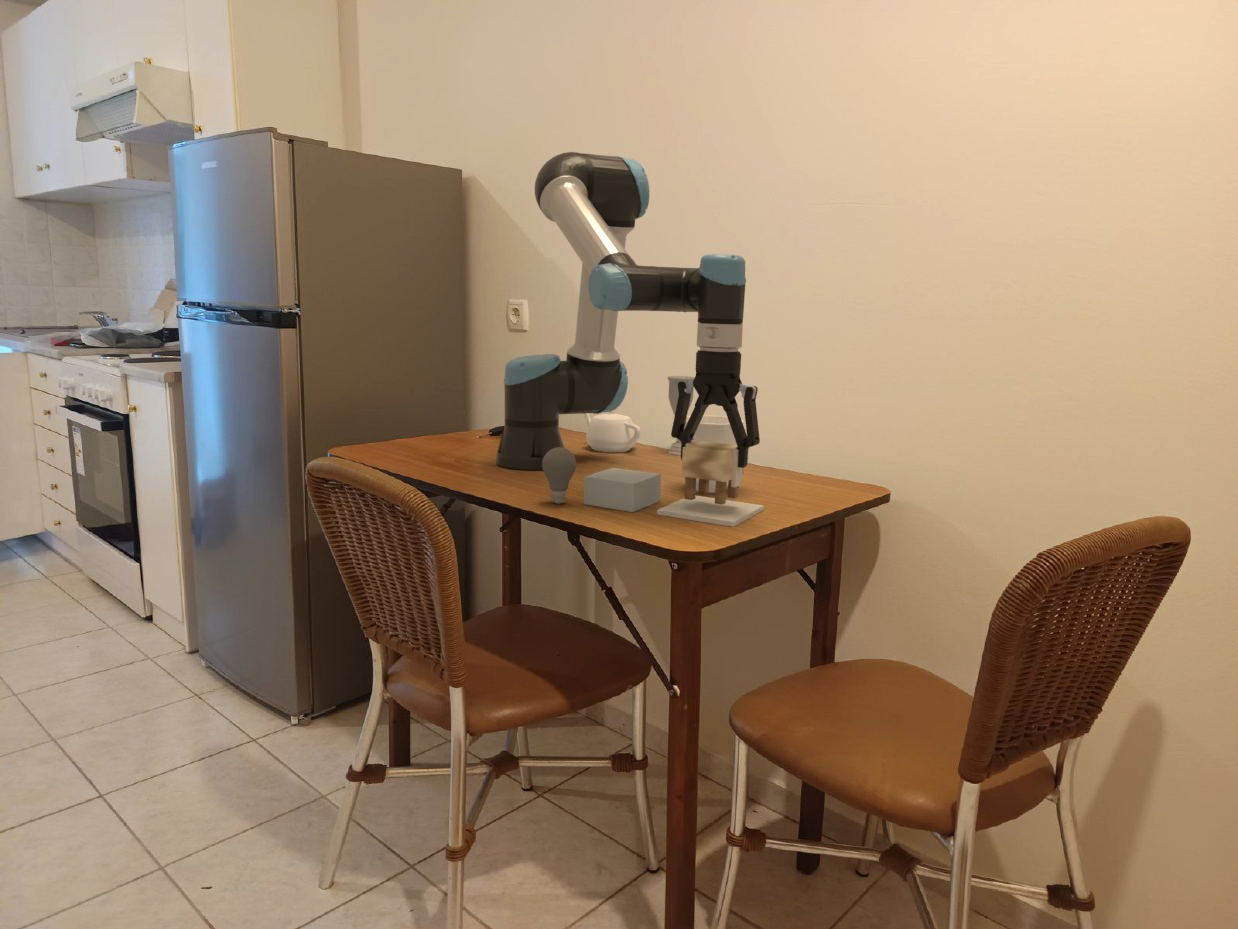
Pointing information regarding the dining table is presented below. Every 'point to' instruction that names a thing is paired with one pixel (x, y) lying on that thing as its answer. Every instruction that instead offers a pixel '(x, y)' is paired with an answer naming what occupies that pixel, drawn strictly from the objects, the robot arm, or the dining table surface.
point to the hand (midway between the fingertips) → (712, 482)
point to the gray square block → (622, 489)
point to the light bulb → (559, 472)
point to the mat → (711, 511)
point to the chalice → (673, 399)
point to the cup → (713, 436)
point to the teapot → (611, 432)
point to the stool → (708, 469)
